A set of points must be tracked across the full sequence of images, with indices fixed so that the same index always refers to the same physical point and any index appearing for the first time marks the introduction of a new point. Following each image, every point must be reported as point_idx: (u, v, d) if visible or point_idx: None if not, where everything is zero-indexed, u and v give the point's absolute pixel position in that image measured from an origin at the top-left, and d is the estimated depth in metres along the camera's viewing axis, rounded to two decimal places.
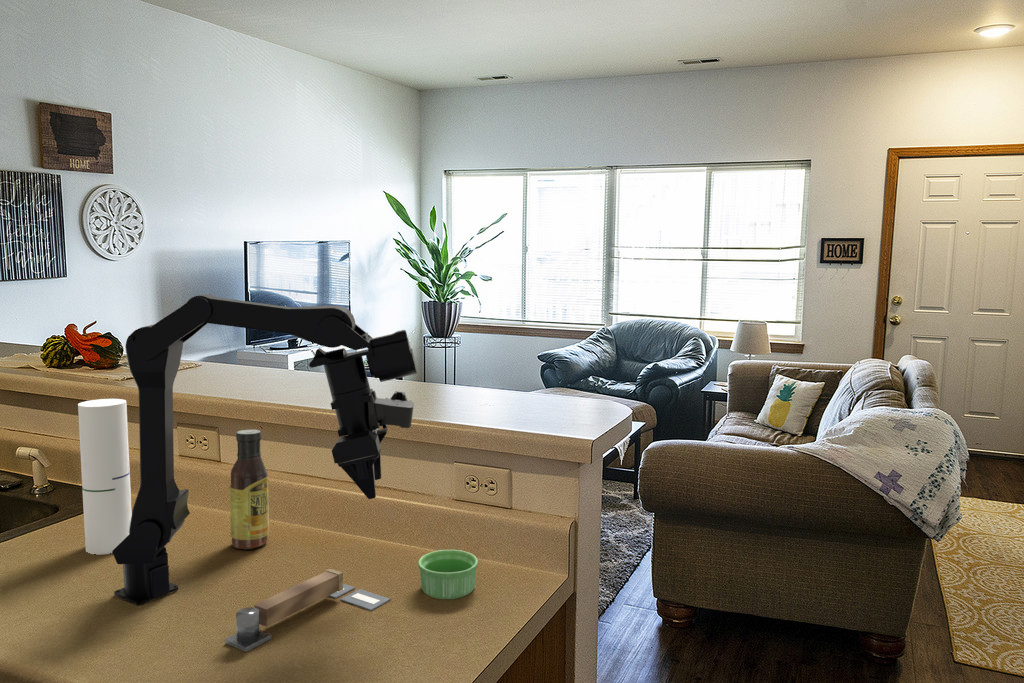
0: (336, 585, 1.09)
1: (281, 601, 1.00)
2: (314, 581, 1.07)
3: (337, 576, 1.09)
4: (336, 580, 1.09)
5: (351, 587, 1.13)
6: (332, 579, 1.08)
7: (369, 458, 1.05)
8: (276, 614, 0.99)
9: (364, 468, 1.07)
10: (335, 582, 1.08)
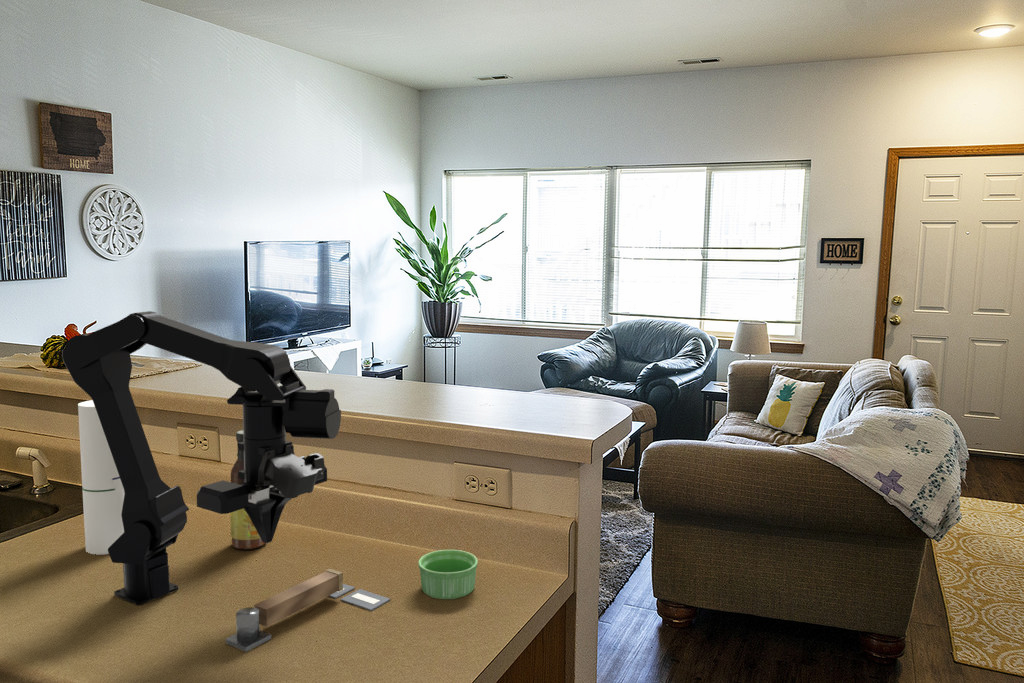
0: (336, 585, 1.09)
1: (281, 601, 1.00)
2: (314, 581, 1.07)
3: (337, 576, 1.09)
4: (336, 580, 1.09)
5: (351, 587, 1.13)
6: (332, 579, 1.08)
7: (252, 505, 1.03)
8: (276, 614, 0.99)
9: (259, 511, 1.06)
10: (335, 582, 1.08)
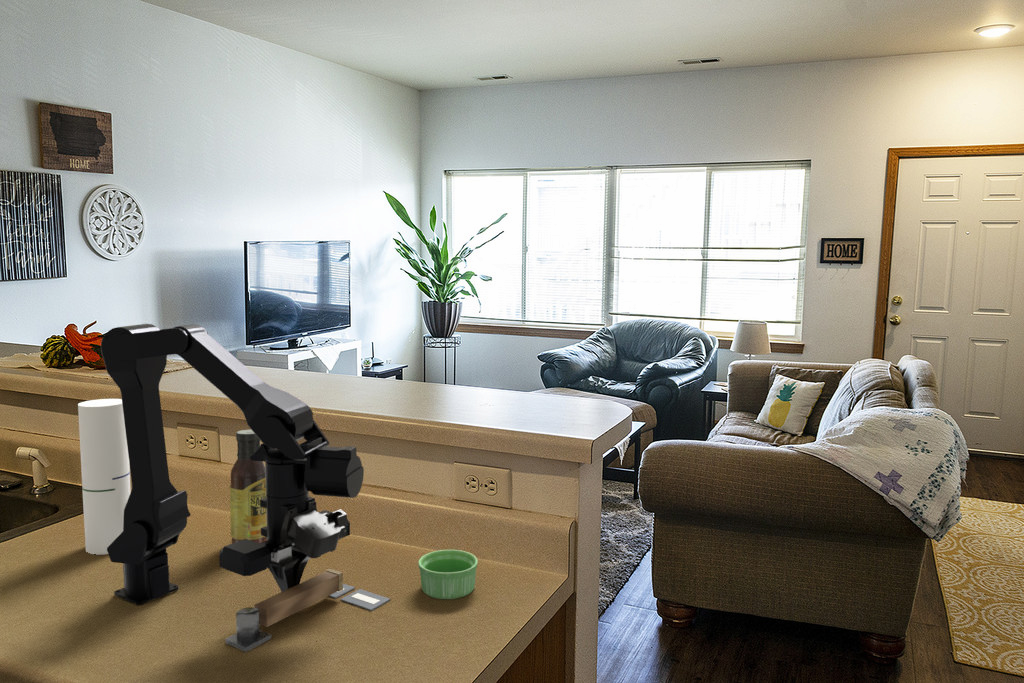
0: (336, 585, 1.09)
1: (281, 601, 1.00)
2: (314, 581, 1.07)
3: (337, 576, 1.09)
4: (336, 580, 1.09)
5: (351, 587, 1.13)
6: (332, 579, 1.08)
7: (275, 564, 1.02)
8: (276, 614, 0.99)
9: (282, 569, 1.04)
10: (335, 582, 1.08)
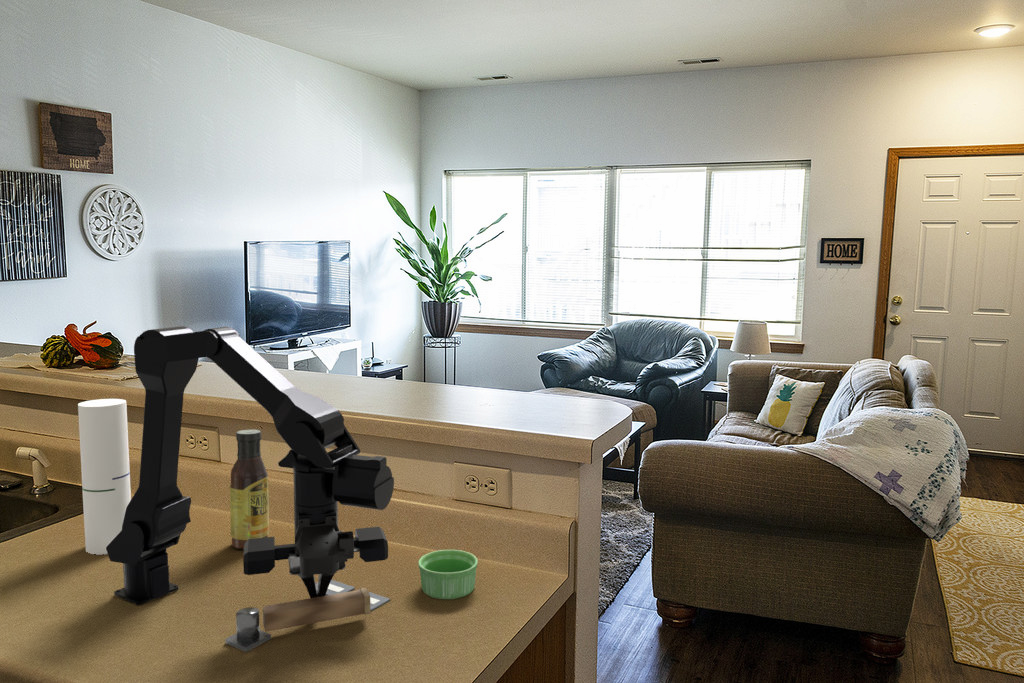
0: (361, 607, 1.02)
1: (286, 609, 0.98)
2: (337, 597, 1.02)
3: (363, 598, 1.02)
4: (361, 602, 1.02)
5: (351, 587, 1.13)
6: (355, 600, 1.01)
7: (289, 570, 1.00)
8: (278, 621, 0.97)
9: None
10: (360, 604, 1.02)
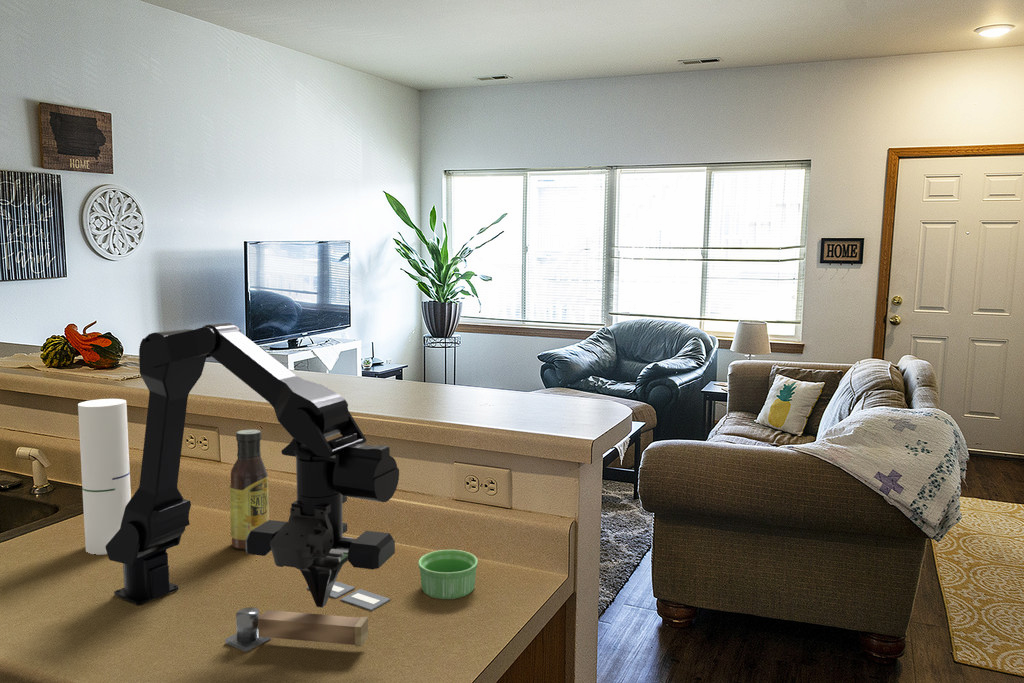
0: (352, 637, 0.94)
1: (278, 619, 0.95)
2: (332, 620, 0.95)
3: (353, 628, 0.94)
4: (352, 631, 0.94)
5: (351, 587, 1.13)
6: (346, 628, 0.94)
7: None
8: (270, 629, 0.95)
9: None
10: (350, 633, 0.94)
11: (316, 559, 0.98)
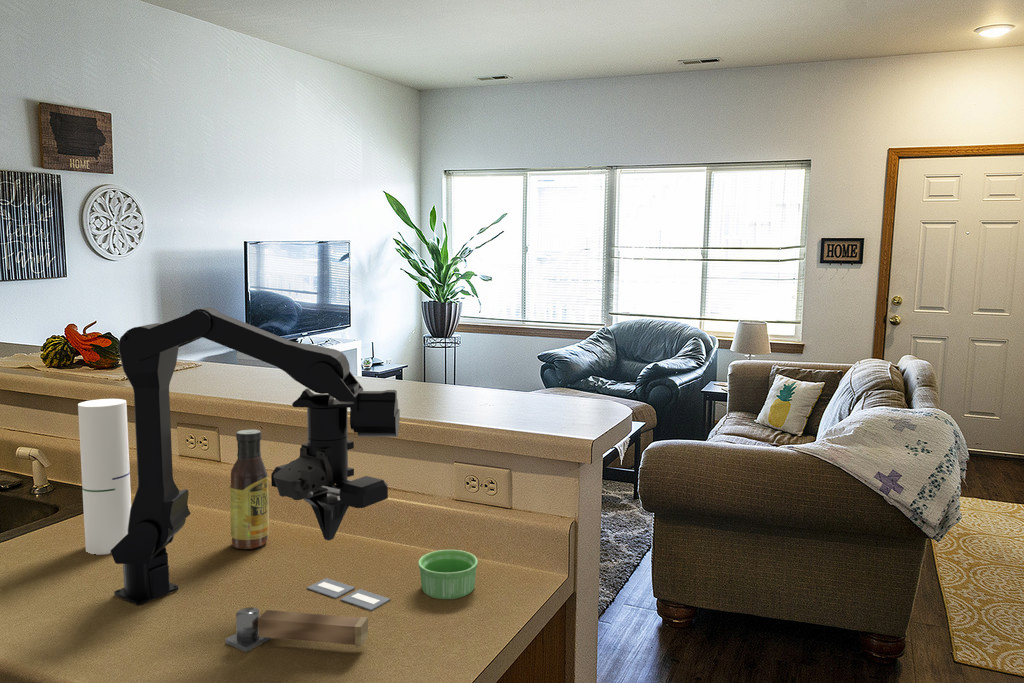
0: (352, 637, 0.94)
1: (278, 619, 0.95)
2: (332, 620, 0.95)
3: (353, 628, 0.94)
4: (352, 631, 0.94)
5: (351, 587, 1.13)
6: (346, 628, 0.94)
7: None
8: (270, 629, 0.95)
9: None
10: (350, 633, 0.94)
11: (325, 497, 1.11)
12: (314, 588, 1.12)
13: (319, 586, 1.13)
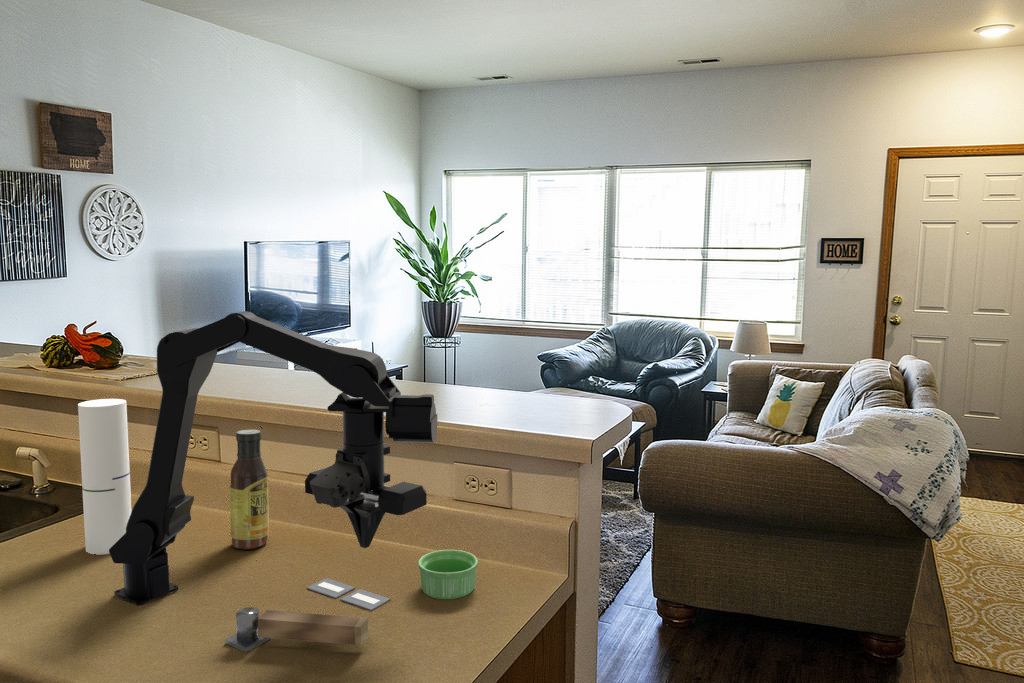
0: (352, 637, 0.94)
1: (278, 619, 0.95)
2: (332, 620, 0.95)
3: (353, 628, 0.94)
4: (352, 631, 0.94)
5: (351, 587, 1.13)
6: (346, 628, 0.94)
7: None
8: (270, 629, 0.95)
9: None
10: (350, 633, 0.94)
11: (361, 504, 1.08)
12: (314, 588, 1.12)
13: (319, 586, 1.13)
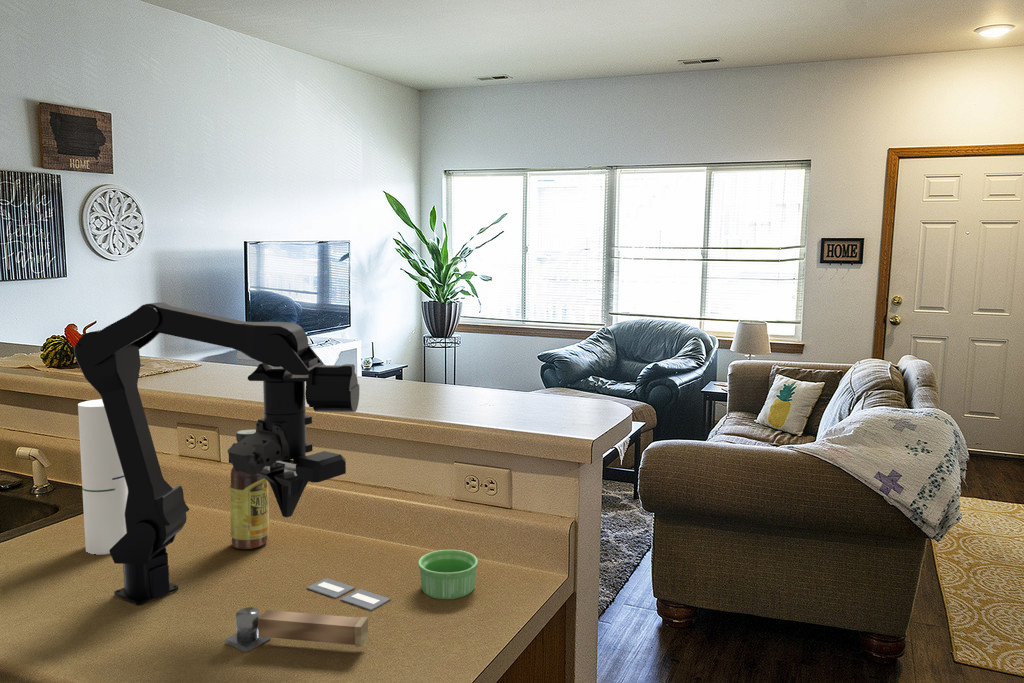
0: (352, 637, 0.94)
1: (278, 619, 0.95)
2: (332, 620, 0.95)
3: (353, 628, 0.94)
4: (352, 631, 0.94)
5: (351, 587, 1.13)
6: (346, 628, 0.94)
7: None
8: (270, 629, 0.95)
9: None
10: (350, 633, 0.94)
11: None
12: (314, 588, 1.12)
13: (319, 586, 1.13)
